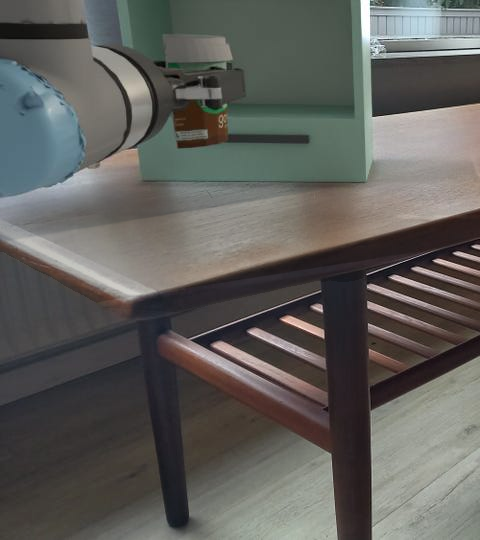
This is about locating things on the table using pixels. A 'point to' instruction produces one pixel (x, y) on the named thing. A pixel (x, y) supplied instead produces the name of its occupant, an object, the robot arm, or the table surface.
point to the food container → (194, 116)
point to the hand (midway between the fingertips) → (196, 75)
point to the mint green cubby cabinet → (270, 89)
